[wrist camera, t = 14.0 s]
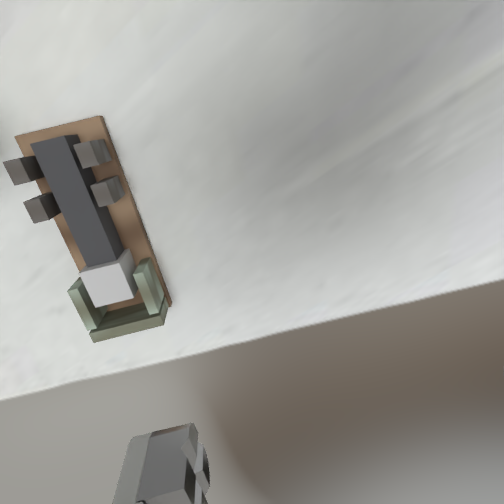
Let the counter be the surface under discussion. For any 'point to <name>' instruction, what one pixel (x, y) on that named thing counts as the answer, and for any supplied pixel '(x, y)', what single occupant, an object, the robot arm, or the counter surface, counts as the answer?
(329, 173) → the counter surface
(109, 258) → the dark grey square bar
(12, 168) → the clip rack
